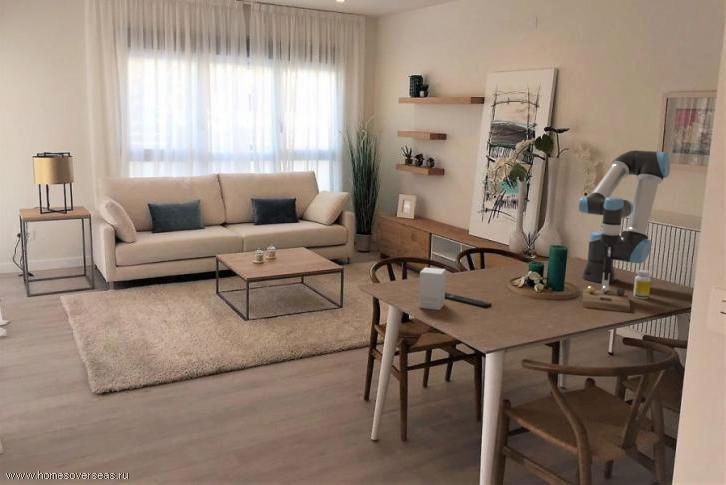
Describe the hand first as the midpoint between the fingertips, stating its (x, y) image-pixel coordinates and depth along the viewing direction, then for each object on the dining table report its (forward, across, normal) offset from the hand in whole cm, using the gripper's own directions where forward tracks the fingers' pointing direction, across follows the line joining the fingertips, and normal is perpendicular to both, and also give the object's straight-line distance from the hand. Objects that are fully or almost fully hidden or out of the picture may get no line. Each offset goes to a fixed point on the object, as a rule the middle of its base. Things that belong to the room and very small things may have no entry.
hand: (605, 286), depth 278 cm
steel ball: (0, +4, 0) cm, 4 cm away
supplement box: (+5, +44, -67) cm, 80 cm away
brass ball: (0, +7, -6) cm, 9 cm away
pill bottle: (+4, -5, +15) cm, 16 cm away
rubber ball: (0, +5, +6) cm, 8 cm away
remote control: (+5, +32, -56) cm, 64 cm away
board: (+4, +10, 0) cm, 11 cm away
